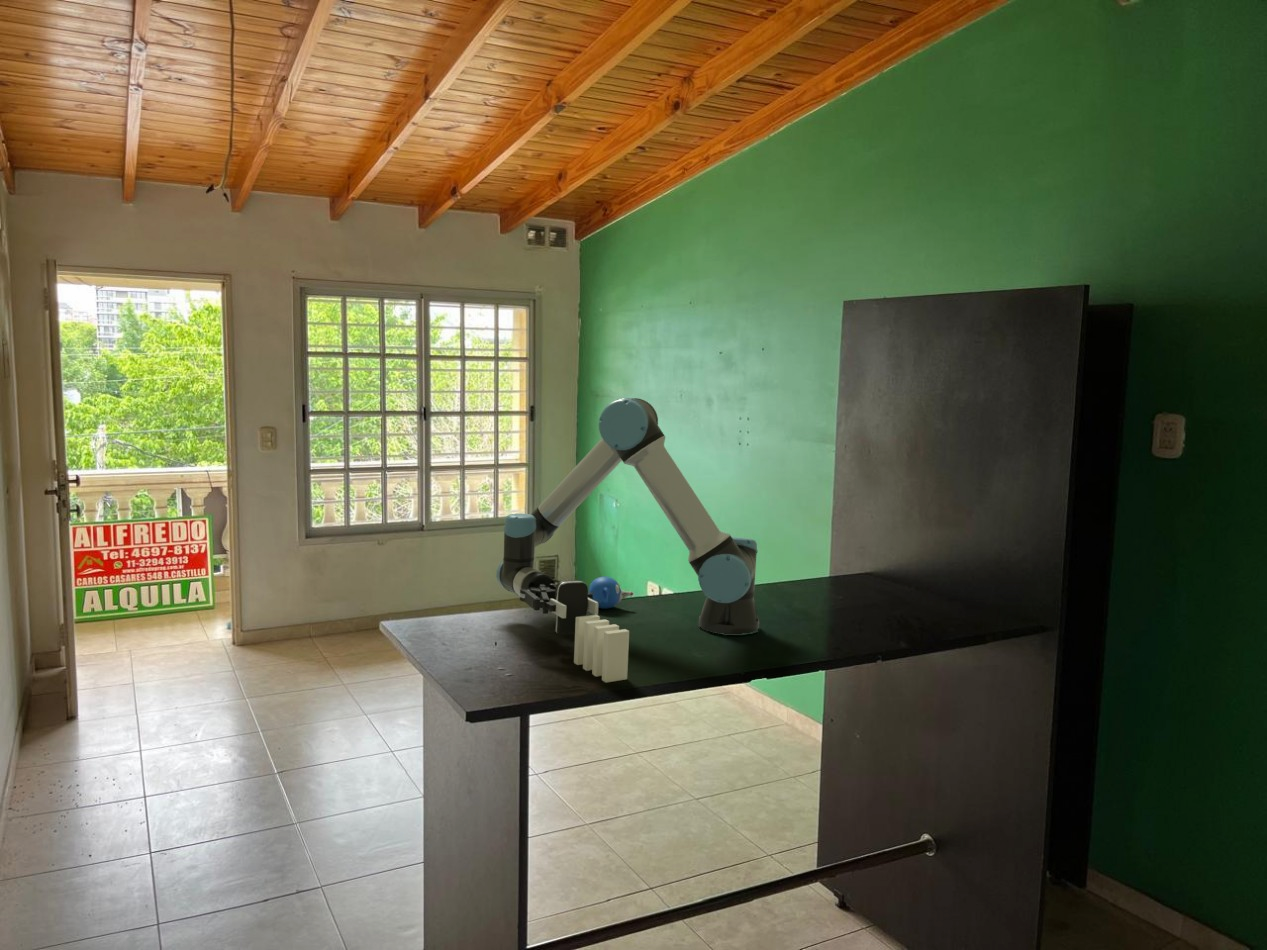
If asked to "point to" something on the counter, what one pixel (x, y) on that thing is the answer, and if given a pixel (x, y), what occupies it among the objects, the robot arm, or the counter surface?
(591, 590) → the blue mole toy
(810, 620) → the counter surface
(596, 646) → the tile
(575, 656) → the tile
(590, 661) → the tile
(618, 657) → the tile
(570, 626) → the battery charger
